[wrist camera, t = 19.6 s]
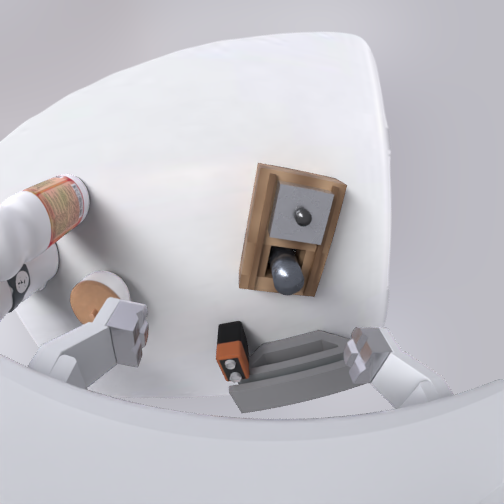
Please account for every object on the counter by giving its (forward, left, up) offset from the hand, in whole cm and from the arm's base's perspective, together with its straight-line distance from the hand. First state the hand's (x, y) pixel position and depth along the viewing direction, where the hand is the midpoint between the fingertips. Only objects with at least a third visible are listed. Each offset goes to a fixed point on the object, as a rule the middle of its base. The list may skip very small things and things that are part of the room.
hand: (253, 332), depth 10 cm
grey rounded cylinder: (+8, -11, -33) cm, 35 cm away
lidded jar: (-21, -22, -33) cm, 45 cm away
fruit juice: (-29, -6, -33) cm, 44 cm away
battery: (+3, -29, -33) cm, 44 cm away
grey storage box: (+16, -32, -33) cm, 49 cm away
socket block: (+8, -6, -33) cm, 34 cm away
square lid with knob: (+8, -2, -27) cm, 29 cm away
